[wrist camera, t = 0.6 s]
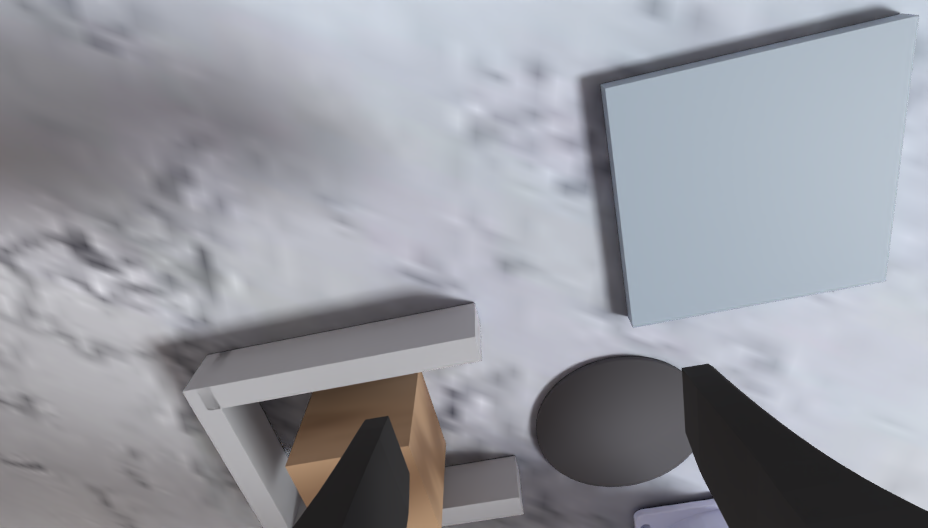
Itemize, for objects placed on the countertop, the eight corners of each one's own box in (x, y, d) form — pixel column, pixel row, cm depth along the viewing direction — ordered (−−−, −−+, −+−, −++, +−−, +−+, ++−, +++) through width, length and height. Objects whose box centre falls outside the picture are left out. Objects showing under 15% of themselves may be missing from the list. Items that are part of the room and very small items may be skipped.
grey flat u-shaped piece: (519, 472, 29) (523, 514, 27) (291, 508, 30) (277, 551, 28) (474, 302, 24) (475, 336, 22) (207, 354, 26) (182, 391, 23)
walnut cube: (445, 442, 28) (441, 531, 24) (350, 458, 29) (328, 548, 24) (419, 363, 26) (409, 445, 21) (316, 382, 26) (284, 466, 22)
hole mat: (707, 468, 29) (709, 473, 28) (550, 492, 29) (551, 497, 29) (701, 341, 25) (703, 345, 25) (522, 373, 26) (523, 377, 26)
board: (872, 271, 23) (885, 281, 23) (628, 317, 24) (633, 327, 24) (902, 13, 19) (918, 15, 18) (600, 84, 20) (605, 88, 19)
